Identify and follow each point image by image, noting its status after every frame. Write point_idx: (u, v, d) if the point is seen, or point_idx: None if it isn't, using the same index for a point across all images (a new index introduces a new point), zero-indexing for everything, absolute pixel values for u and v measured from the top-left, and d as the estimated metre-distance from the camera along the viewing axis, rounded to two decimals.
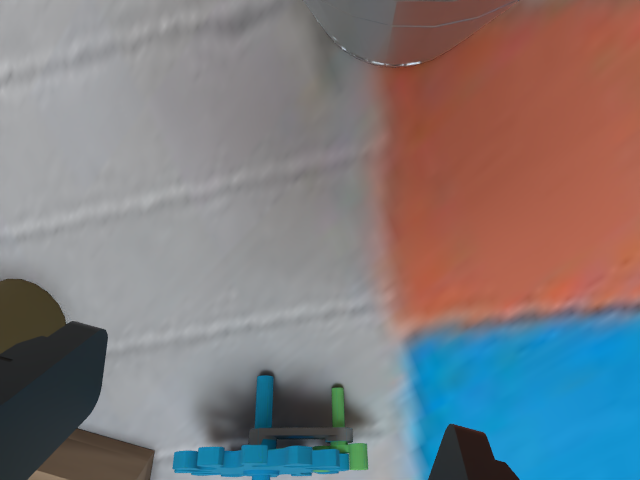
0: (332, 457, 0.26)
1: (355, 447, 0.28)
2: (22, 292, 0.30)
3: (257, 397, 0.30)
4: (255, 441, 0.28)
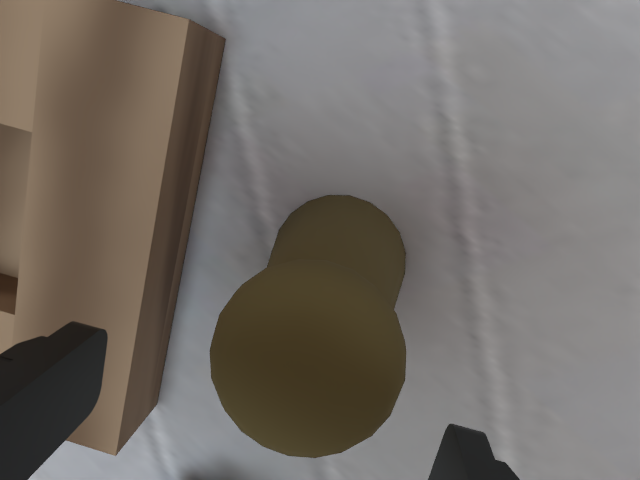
0: None
1: None
2: None
3: None
4: None
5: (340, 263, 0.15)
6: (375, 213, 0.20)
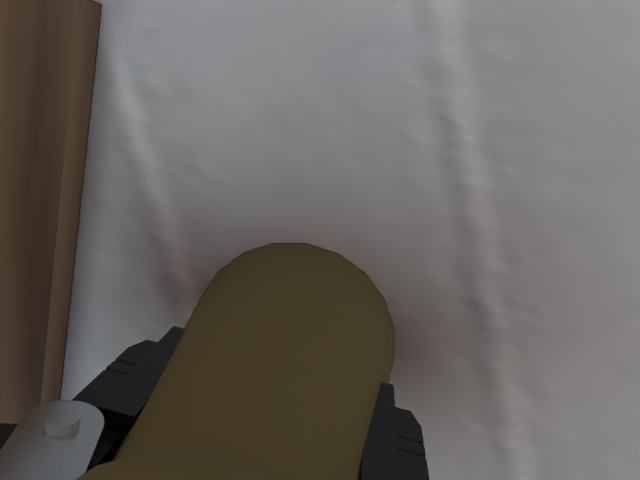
0: None
1: None
2: None
3: None
4: None
5: (257, 427, 0.07)
6: (344, 273, 0.13)
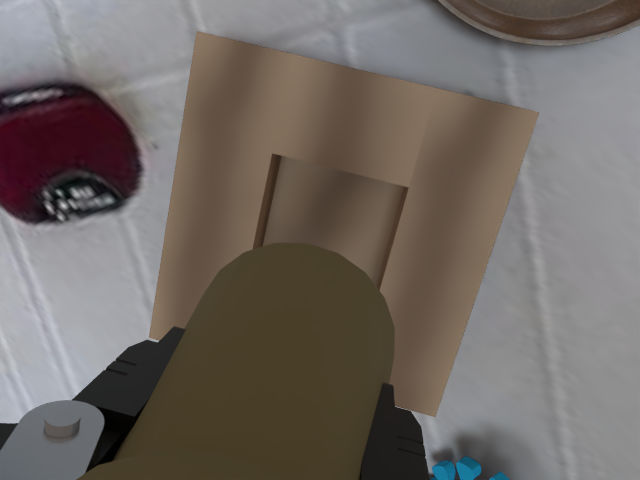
0: None
1: None
2: None
3: None
4: None
5: (258, 426, 0.07)
6: (345, 272, 0.13)
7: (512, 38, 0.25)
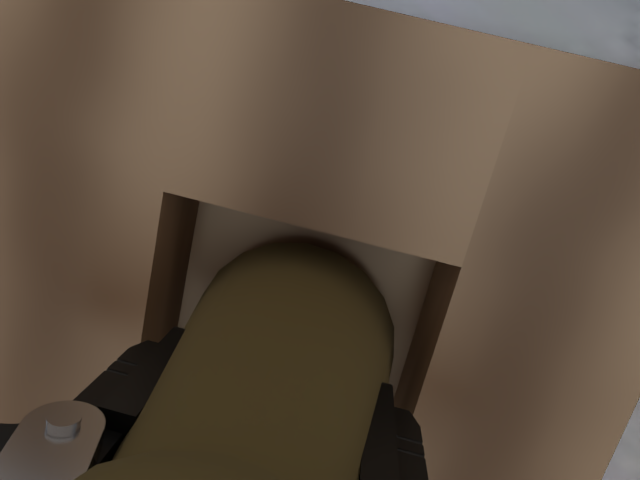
0: None
1: None
2: None
3: None
4: None
5: (257, 426, 0.07)
6: (344, 272, 0.13)
7: None
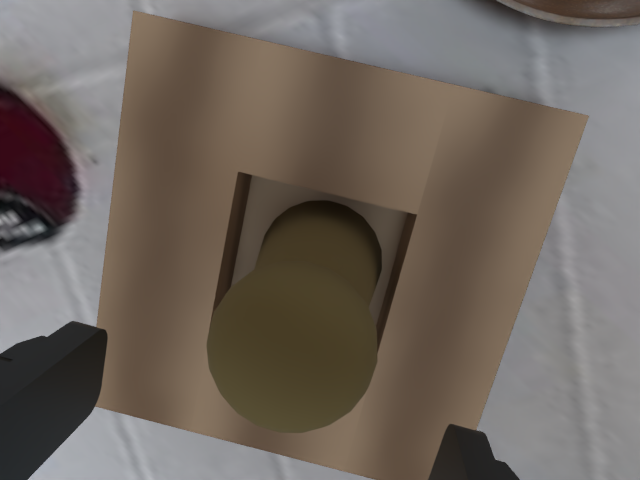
0: None
1: None
2: None
3: None
4: None
5: (318, 263, 0.17)
6: (351, 215, 0.22)
7: (554, 18, 0.19)
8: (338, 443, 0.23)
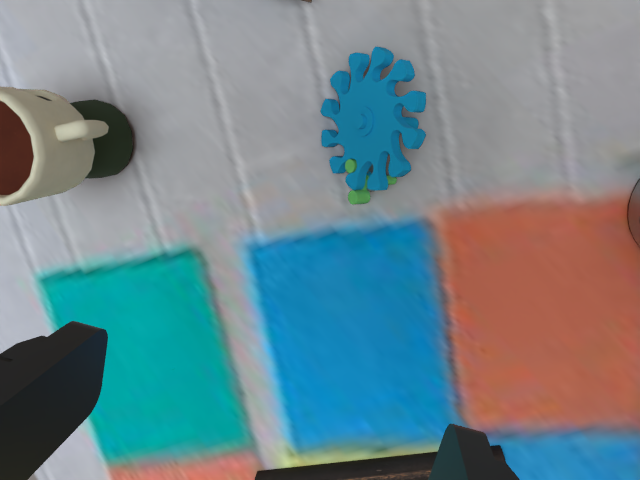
0: (383, 187, 0.34)
1: (368, 196, 0.37)
2: None
3: (406, 119, 0.37)
4: None
5: None
6: None
7: None
8: None
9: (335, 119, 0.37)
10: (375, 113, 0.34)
